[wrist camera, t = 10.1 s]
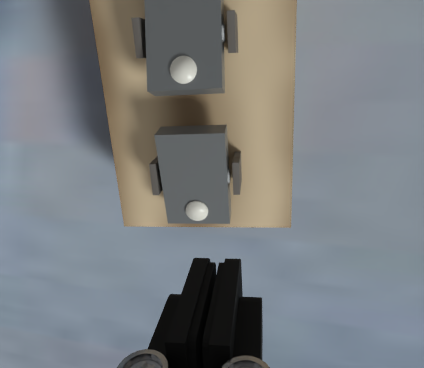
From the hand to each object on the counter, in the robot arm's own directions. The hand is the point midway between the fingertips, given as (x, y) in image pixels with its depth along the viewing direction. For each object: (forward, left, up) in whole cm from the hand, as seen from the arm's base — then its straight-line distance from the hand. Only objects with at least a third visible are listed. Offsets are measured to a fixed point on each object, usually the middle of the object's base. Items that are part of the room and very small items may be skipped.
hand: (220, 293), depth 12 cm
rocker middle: (+9, -2, -10) cm, 14 cm away
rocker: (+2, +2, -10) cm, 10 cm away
